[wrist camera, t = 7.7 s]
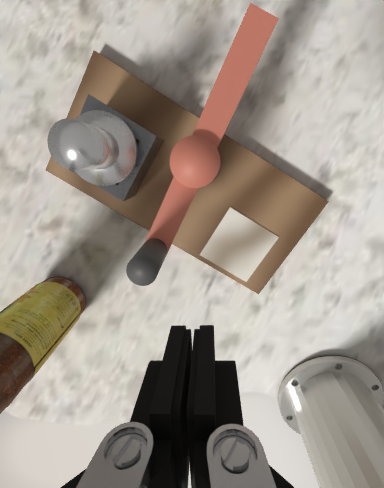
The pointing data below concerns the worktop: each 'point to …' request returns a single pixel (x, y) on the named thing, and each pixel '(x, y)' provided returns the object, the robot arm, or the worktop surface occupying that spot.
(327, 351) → the worktop surface
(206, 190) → the board
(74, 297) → the sauce bottle
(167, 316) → the worktop surface
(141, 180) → the block
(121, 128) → the peg
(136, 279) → the lever
